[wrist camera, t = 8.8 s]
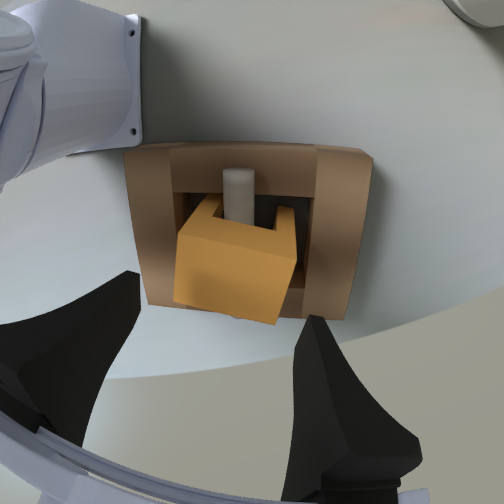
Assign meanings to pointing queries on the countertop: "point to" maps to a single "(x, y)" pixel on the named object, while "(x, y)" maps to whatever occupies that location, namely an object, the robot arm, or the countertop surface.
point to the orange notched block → (234, 263)
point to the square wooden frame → (242, 210)
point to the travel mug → (479, 12)
